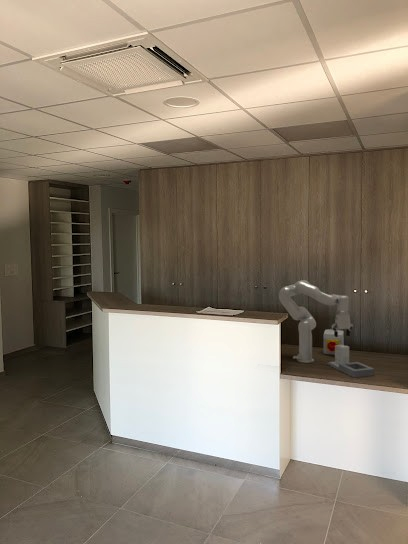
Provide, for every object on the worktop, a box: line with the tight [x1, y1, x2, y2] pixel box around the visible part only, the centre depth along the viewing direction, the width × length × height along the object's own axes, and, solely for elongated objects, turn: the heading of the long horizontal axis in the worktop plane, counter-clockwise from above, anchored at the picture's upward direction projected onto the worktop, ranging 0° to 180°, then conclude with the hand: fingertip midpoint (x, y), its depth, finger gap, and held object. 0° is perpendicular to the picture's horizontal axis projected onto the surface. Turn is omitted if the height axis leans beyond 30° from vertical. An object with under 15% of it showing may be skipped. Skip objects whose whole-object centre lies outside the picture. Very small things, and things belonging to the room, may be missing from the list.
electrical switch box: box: [322, 328, 345, 356], centre depth 360 cm, size 14×15×20 cm
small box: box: [334, 344, 350, 364], centre depth 328 cm, size 8×6×13 cm
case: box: [325, 361, 376, 379], centre depth 319 cm, size 16×34×4 cm, turn 16°
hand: (341, 336), depth 327 cm, fingers open, 9 cm apart
